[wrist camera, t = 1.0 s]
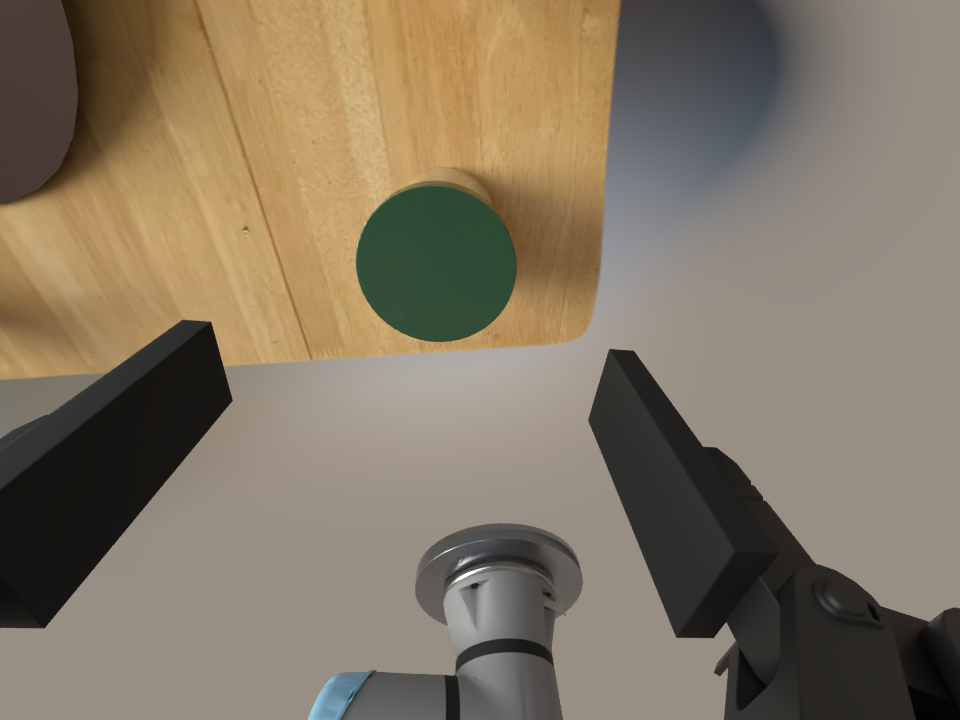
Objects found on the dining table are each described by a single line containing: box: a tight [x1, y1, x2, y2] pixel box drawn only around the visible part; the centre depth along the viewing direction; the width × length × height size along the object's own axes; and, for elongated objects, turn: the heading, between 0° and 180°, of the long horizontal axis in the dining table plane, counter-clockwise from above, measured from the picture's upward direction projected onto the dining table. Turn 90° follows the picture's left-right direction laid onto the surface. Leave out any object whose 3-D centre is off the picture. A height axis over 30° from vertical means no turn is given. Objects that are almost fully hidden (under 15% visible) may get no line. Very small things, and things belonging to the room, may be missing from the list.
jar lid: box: [356, 181, 516, 342], centre depth 21 cm, size 8×8×2 cm
